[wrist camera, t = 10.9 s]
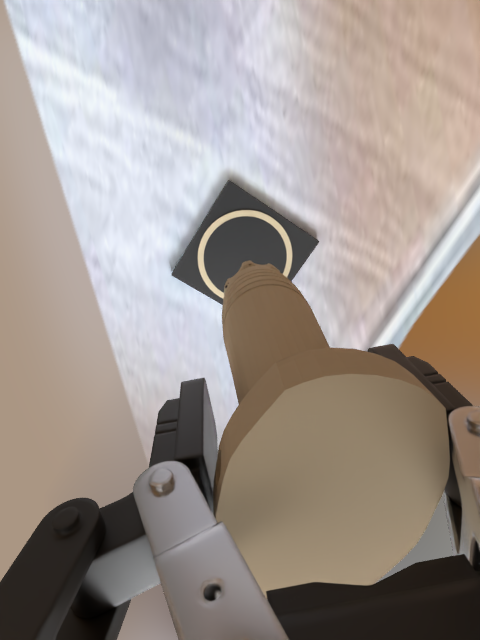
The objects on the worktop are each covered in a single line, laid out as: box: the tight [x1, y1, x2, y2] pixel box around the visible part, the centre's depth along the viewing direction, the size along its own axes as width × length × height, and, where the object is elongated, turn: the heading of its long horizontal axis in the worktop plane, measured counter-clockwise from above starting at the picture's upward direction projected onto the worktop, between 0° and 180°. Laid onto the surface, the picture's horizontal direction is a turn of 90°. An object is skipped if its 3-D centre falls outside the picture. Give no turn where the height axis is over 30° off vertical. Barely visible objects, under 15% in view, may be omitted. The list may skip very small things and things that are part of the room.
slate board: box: [172, 180, 319, 305], centre depth 28 cm, size 8×8×1 cm
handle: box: [213, 260, 450, 599], centre depth 16 cm, size 5×6×15 cm
